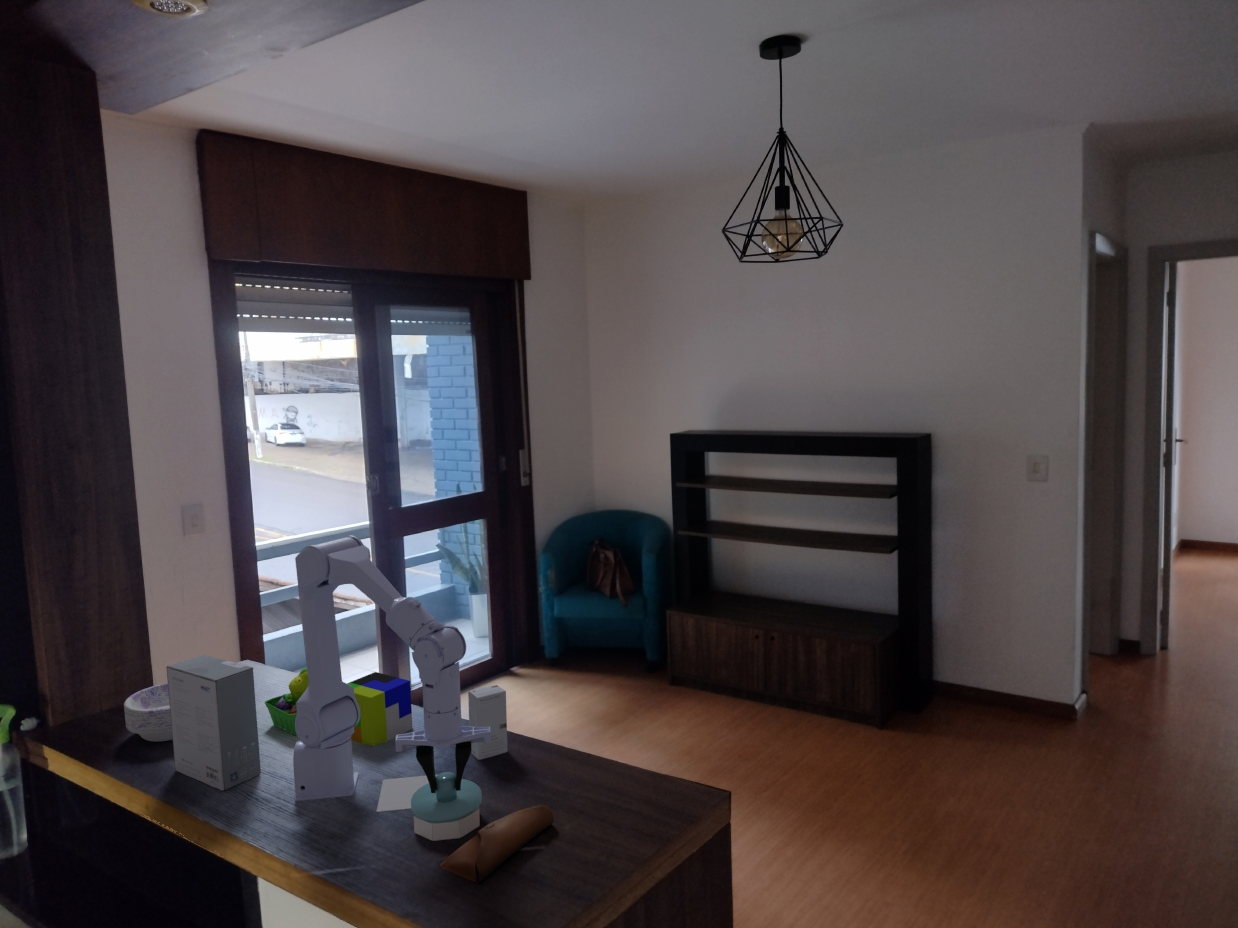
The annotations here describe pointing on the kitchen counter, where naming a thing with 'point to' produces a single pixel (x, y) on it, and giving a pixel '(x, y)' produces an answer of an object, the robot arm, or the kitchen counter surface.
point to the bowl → (447, 827)
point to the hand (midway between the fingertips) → (446, 788)
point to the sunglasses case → (497, 843)
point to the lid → (446, 799)
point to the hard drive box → (214, 720)
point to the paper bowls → (149, 713)
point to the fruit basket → (288, 703)
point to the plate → (399, 792)
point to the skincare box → (489, 719)
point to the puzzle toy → (381, 708)
